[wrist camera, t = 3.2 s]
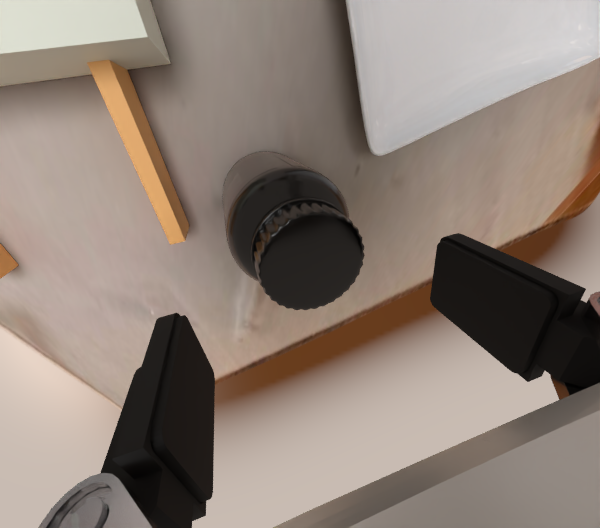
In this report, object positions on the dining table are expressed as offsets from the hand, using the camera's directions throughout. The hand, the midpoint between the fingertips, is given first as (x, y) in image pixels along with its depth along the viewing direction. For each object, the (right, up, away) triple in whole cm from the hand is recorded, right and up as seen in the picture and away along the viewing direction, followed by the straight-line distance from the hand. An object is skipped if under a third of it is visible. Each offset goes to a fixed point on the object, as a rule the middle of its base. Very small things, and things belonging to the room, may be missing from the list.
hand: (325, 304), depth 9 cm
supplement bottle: (-4, +7, +12) cm, 14 cm away
